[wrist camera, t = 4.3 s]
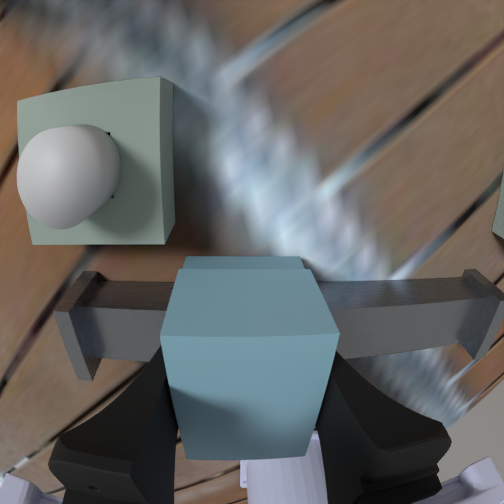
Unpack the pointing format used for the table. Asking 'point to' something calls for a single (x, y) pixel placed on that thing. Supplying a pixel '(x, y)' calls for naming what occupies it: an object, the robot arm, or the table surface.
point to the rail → (336, 297)
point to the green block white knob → (98, 163)
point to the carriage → (247, 356)
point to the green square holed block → (500, 213)
